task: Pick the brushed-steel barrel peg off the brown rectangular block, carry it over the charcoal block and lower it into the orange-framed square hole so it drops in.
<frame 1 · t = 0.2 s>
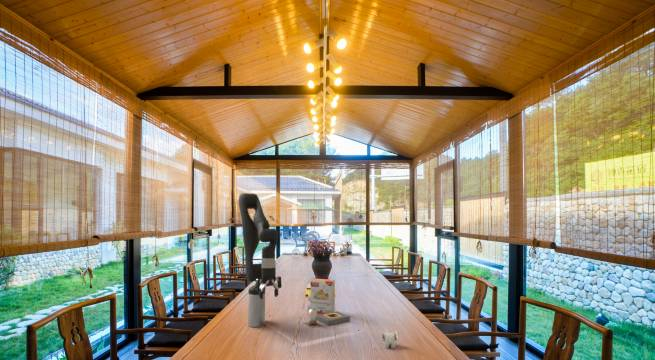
hand: (268, 297, 197), 17 cm above the table, tool pointing down, fingers open, 8 cm apart
cracker box: (322, 315, 225), on the table
elephant figurine: (389, 346, 175), on the table
hole block: (332, 323, 209), on the table
steel peg: (312, 324, 202), point 1 cm above the table, touching brown rectangular block
brown rectangular block: (312, 327, 202), on the table
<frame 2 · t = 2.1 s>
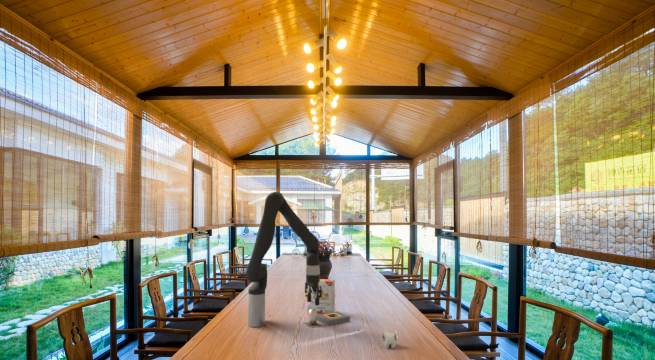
hand: (313, 303, 202), 13 cm above the table, tool pointing down, fingers open, 8 cm apart
nothing on the table moved.
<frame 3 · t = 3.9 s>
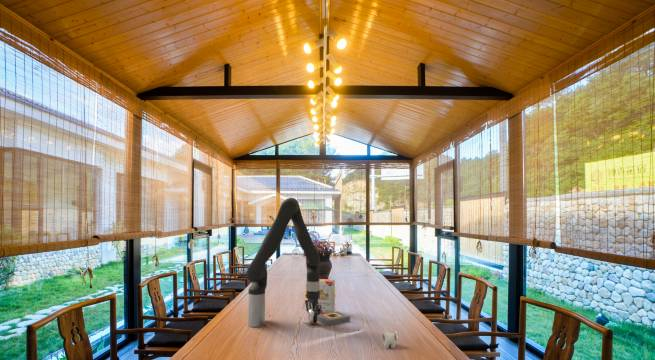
hand: (313, 321, 202), 3 cm above the table, tool pointing down, fingers closed on steel peg, 4 cm apart
steel peg: (312, 324, 202), point 2 cm above the table, touching gripper, brown rectangular block
everything else where it was.
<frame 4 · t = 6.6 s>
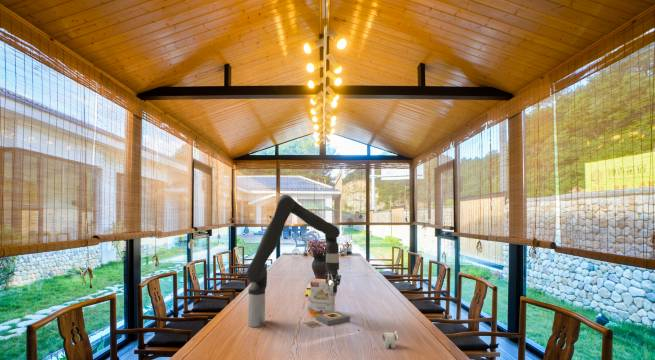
hand: (332, 291, 210), 17 cm above the table, tool pointing down, fingers closed on steel peg, 4 cm apart
steel peg: (332, 294, 210), point 16 cm above the table, touching gripper
everything else where it was.
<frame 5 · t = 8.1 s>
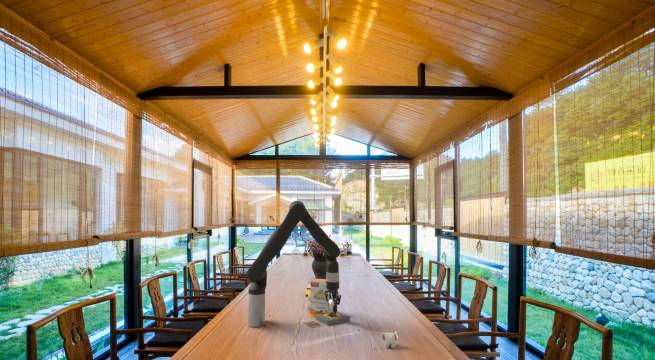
hand: (332, 310, 209), 7 cm above the table, tool pointing down, fingers closed on steel peg, 4 cm apart
steel peg: (332, 314, 209), point 5 cm above the table, touching gripper
everything else where it was.
when the fingers open (5 cm above the table, at t = 9.1 s): steel peg drops 3 cm, resting in hole block.
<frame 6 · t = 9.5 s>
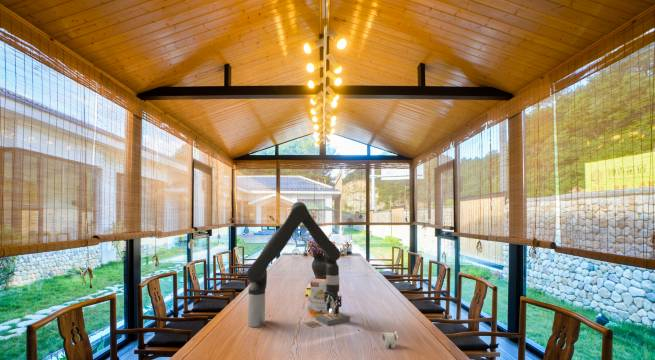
hand: (332, 312, 209), 6 cm above the table, tool pointing down, fingers open, 7 cm apart
steel peg: (332, 323, 209), resting in hole block
everything else where it was.
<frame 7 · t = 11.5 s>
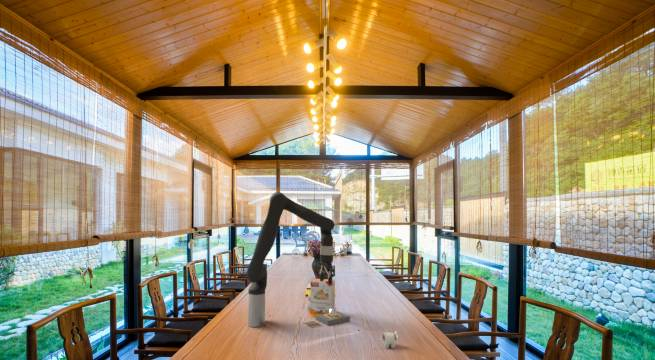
hand: (325, 282, 211), 22 cm above the table, tool pointing down, fingers open, 8 cm apart
nothing on the table moved.
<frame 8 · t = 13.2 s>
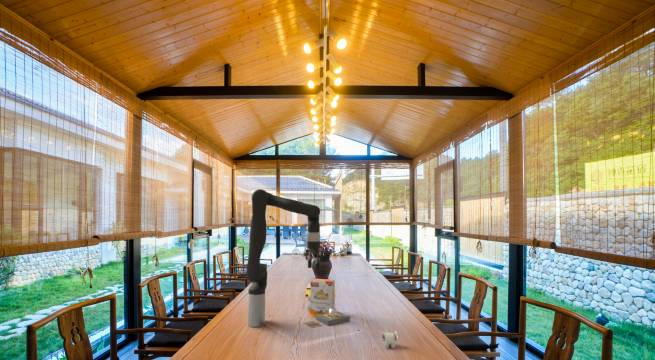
hand: (313, 268, 211), 30 cm above the table, tool pointing down, fingers open, 8 cm apart
nothing on the table moved.
at the end: steel peg 0.1 cm off-centre on the hole block, point 0.0 cm above the hole block's base; steel peg tilted 0°; the gripper is holding nothing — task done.
